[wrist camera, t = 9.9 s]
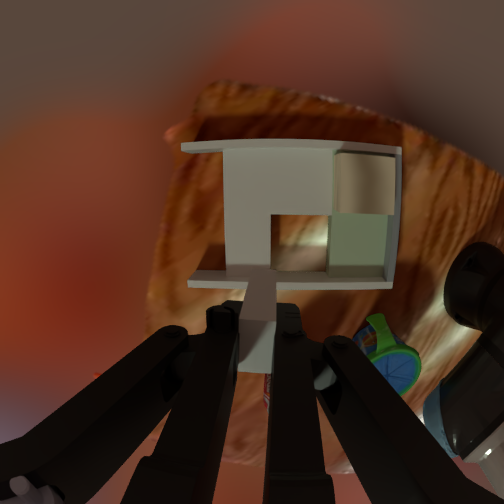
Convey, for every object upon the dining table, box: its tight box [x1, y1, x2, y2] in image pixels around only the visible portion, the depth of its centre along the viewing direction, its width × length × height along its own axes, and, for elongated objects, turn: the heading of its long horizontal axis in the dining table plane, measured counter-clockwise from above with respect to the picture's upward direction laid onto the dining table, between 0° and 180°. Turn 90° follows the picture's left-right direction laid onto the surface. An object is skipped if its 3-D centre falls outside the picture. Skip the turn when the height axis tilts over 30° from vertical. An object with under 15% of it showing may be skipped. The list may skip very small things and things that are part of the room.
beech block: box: [333, 153, 395, 215], centre depth 33 cm, size 7×7×4 cm
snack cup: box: [352, 313, 421, 396], centre depth 38 cm, size 16×10×10 cm
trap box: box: [181, 139, 402, 290], centre depth 37 cm, size 28×19×4 cm
